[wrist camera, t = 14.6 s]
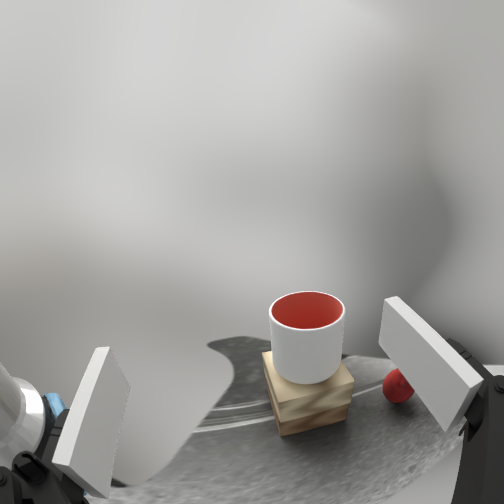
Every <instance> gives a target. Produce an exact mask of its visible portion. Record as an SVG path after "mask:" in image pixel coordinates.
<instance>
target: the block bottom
mask: <svg viewBox="0 0 504 504" xmlns="http://www.w3.org/2000/svg"><path fill="white" fill-rule="evenodd" d="M266 382H267V379H266ZM267 389H268V393H269V397H270V401H271V405H272V408H273V412H274V416H275V420H276V423H277V427H278V431H279V434H280V437H281V436H286V435H290V434H295V433H299V432H303V431H307V430H311V429H314V428H318V427H322V426H325V425H329V424H332V423H335V422H339V421H342V420H345V419H346V418H347V413H348V407H349V403H347V404H344V405H341V406H338V407H335V408H332V409H329V410H326V411H322V412H319V413H316V414H312V415H309V416H305V417H301V418H298V419H294V420H290V421H286V422H281V423H280V420H279V417H278V414H277V411H276V407H275V404H274V401H273V398H272V395H271V392H270V389H269V385H268V382H267Z"/></svg>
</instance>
